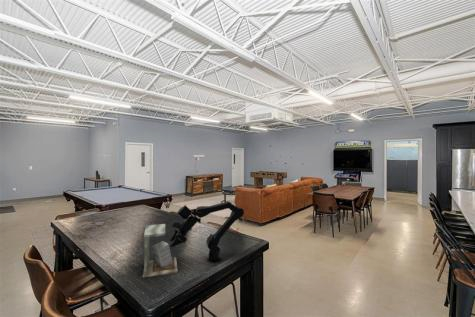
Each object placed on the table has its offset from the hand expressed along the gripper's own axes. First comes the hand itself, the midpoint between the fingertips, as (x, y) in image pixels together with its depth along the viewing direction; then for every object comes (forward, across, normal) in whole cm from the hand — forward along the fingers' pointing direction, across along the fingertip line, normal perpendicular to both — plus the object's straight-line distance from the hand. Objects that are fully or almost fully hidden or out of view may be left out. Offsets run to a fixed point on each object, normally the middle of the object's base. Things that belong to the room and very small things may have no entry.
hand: (170, 243), depth 137 cm
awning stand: (+14, 0, +5) cm, 15 cm away
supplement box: (+11, 0, +6) cm, 13 cm away
